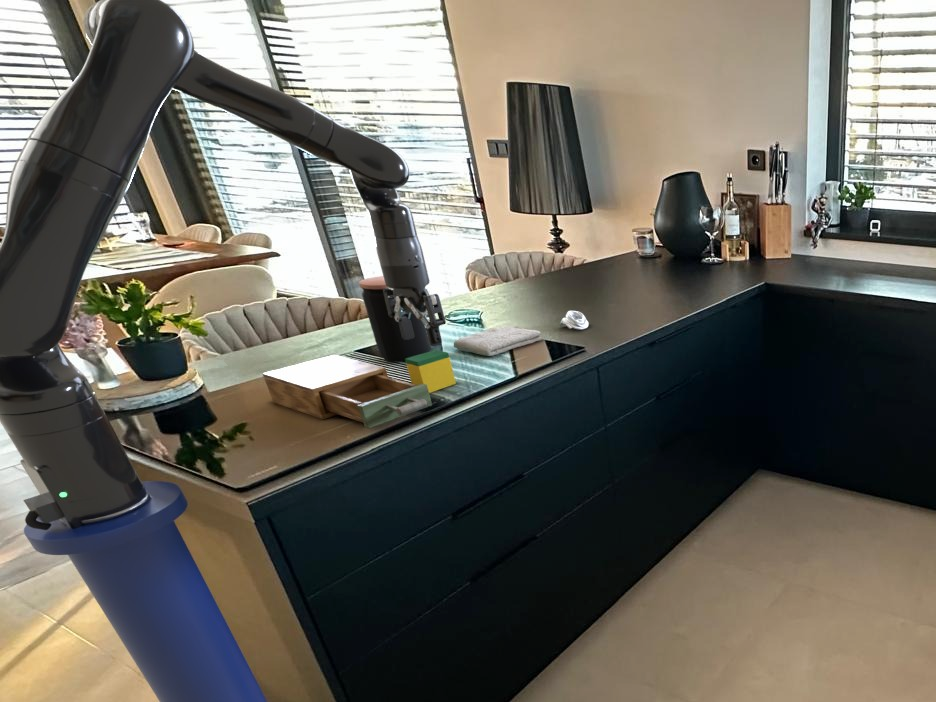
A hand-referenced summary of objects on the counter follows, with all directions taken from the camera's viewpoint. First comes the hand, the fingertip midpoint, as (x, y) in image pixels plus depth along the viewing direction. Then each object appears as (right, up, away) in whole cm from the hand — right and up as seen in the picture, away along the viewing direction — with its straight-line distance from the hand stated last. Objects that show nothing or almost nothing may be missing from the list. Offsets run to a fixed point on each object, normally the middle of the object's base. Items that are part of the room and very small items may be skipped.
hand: (422, 342), depth 127 cm
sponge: (0, -9, +5) cm, 10 cm away
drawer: (-2, -15, -9) cm, 17 cm away
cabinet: (-16, -12, -2) cm, 20 cm away
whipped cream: (+15, +12, +47) cm, 51 cm away
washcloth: (+1, +4, +31) cm, 31 cm away
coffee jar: (-17, 0, +22) cm, 28 cm away
